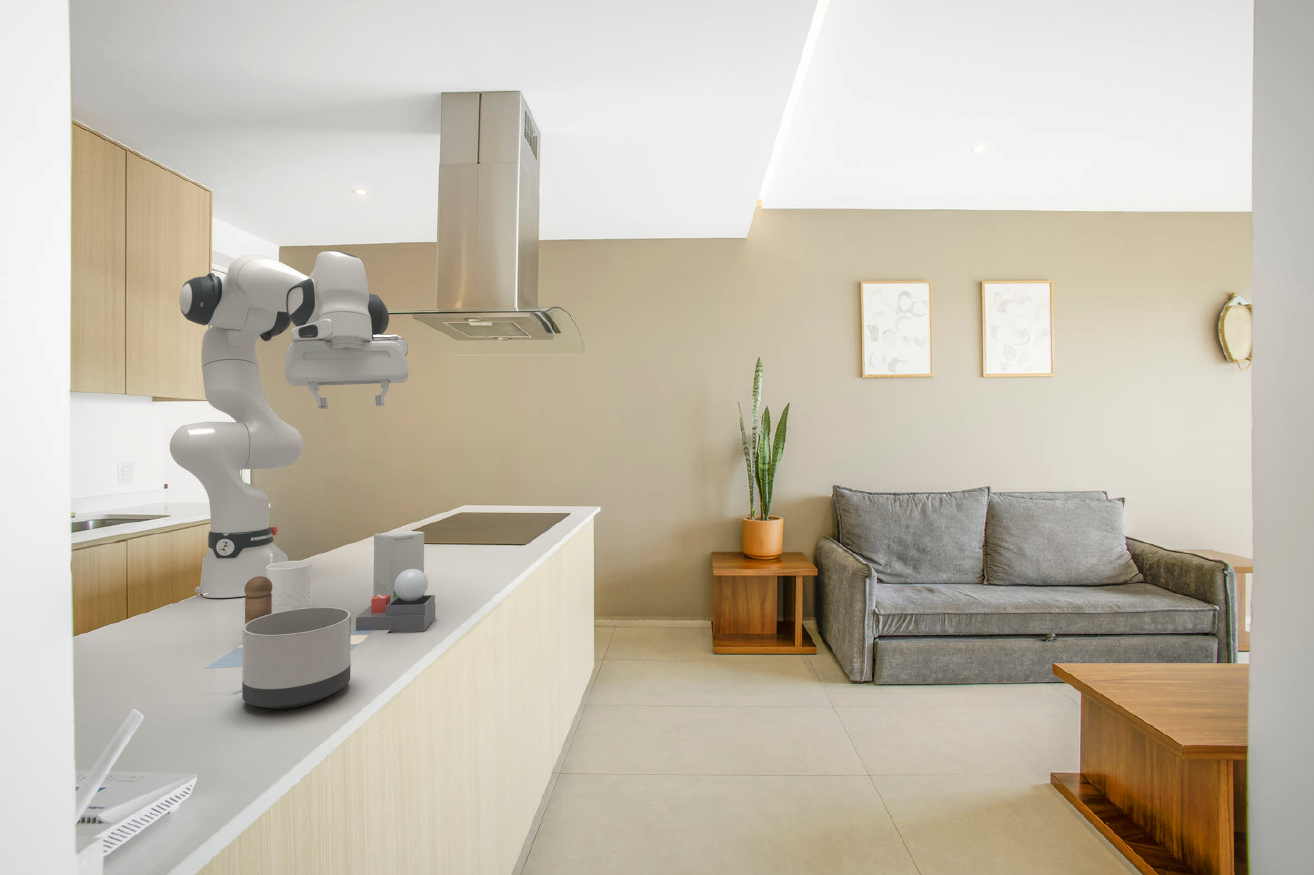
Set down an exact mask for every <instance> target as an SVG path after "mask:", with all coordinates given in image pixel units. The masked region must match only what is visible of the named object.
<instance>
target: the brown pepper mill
mask: <svg viewBox="0 0 1314 875" xmlns="http://www.w3.org/2000/svg"><path fill="white" fill-rule="evenodd" d="M272 587H273V586H272V582H271V581H270V580H269V579H268V578H266V577H264V576H257V577H254V578H252V579H250V580H249V581H248V582H247V583H246V585H245V588H244V592H245V594H246V596H244V599H245V600H244V625H245V624H247V623H248V622H250V621H252V620H254V619H257V618H259V617H262V616H265V615H269V614H272V594H271V591H272Z"/></svg>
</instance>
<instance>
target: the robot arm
mask: <svg viewBox="0 0 1314 875" xmlns="http://www.w3.org/2000/svg"><path fill="white" fill-rule="evenodd" d="M315 259H316V260H315V265H314V268H313V270H312V272H311V274H309V276H308V275H306V274H304V273H302V272H300V271H299V270H296V269H294V268H292V267H291V266H289V265H287V264H285V263H283V262H281V261H279V260H276V259H274V258H271V257H269V256H264V255H258V254H247V255H242V256H239V257H236V258H235V259H234V260H233V261H232V262H231V263H230V264H229V266H228V269H227V274H226V276H225V275H224V276H216V275H215V273H213V272H209V273H207V275H203V276H196V277H193V278H190V279H189V280H187V281H185V282H184V284H183V285H182V288H181V290H180V292H179V298H178V300H179V302H178V303H179V306H180V310H181V311H180V312H181V313H182V315H183V316H184V318H185V319H186V320H187V321H190V322H192V323H195V324H198V325H201V326H211V327H209V328H208V329H206V330H205V332H204V333H203V335H202V336H203V337H202V342H201V352H200V353H201V355H200V356H201V360H200V361H201V372H202V380H203V388H204V397H205V399H206V401H207V402H208V403H209V404H210V406H212V408H214V409H216V410H218V411H219V412H222V413H224V414H227V415H228V416H230V417H231V418H232V419H233V420H234V421H235V422H234V421H233V422H232V421H225V422H224V421H202V422H196V423H195V422H194V423H188V424H183V425H181V426H180V427H178V428H177V429H175V432H173V435H172V436H171V438H170V441H169V453H170V455H171V457H172V459H173V461H174V462H175V463H176V464H177V465H178V466H180V467H181V468H182V469H185V471H188V472H189V473H191V474H192V475H193V476H194V477H195V478H196V479H197V480H198V481H199V482H200V483H201V484H202V486H203V487H204V490H205V491H206V494H207V497H208V501H209V502H208V503H209V513H210V531H209V532H208V537H207V547H208V548H209V550H208V552H207V553H205V555H204V556H203V558H202V564H201V566H202V567H201V575H200V585H198V586H195V588H194V589H195V590H194V593H197V594H200V595H201V594H205V593H208V594H206V595H203V596H202V597H203V598H210V599H211V598H212V599H213V598H214V599H218V598H219V599H222V598H223V599H224V598H225V599H226V598H238V597H246V594H245V592H244V588H245V585H246V583H247V582H248V581H249V580H250V579H252V578H254V577H257V576H264V577H266V566H268V565H270V564H274V563H279V562H287V561H289V558H288V554H286V553H285V552H284V551H283V550H281V549H280V548H279V547H278V546H277V545H276V544H275V543H274V542H275V541H274V537H273V536H277V535H278V533H279V528H278V527H277V526H272V527H271V526H270V499H269V496H268V494H267V493H266V491H264V490H263V489H261V488H260V487H258V486H256V485H253V484H249V483H247V482H245V481H244V480H243V478H242V476H241V471H242V470H263V469H264V470H267V469H268V470H269V469H276V468H281V467H287V466H291V465H294V464H296V462H298V460H299V459H300V458H301V456H302V454H303V451H304V440H303V437H302V435H301V433H300V432H299V431H298V430H297V428H296V427H294V426H292V425H291V424H289V423H287V422H286V421H285V420H283V419H282V418H281V417H279V416H278V414H277V413H276V412H275V411H274V410H273V408H272V407H271V406H270V404H269V403H268V401H267V399H266V397H265V392H264V390H263V385H262V381H261V380H262V379H261V375H260V369H259V361H258V357H257V352H256V342H257V340H258V339H259V337H260V339H261V340H262V341H264V342H269V341H271V340H272V338H274V337H277V336H279V335H281V334H283V333H284V332H285V331H286V330H287V329H289V327H290V325H291V323H292V324H293V325H294V326H295V327H293V328H292V329H291V331H290V336H291V341H292V343H290V344H289V345H288V347H287V350H286V353H285V354H286V355H285V365H284V374H285V380H286V382H288V384H289V385H291V386H292V387H308V389H309V391H310V393H311V394H312V395H313V397H314V399H316V403H317V409H318V410H328V409H329V406H328V399H327V397H321V396H320V394H319V393H318V392H319V391H320V386H344V385H345V386H346V385H375V384H377V385H379V384H380V389H381V393H380V394H379V395H375V396H374V397H375V398H374V399H375V400H374V401H375V407H385V397H386V395H387V393H388V392H389V390H390V384H405V383H406V381H407V380H408V379H409V368H408V363H407V359H406V356H407V355H408V352H409V350H408V349H409V348H408V342H407V340H405V339H404V338H403V337H401V336H399V335H397V334H389V335H388V334H386V335H385V334H384V333H385V332H386V330H387V328H388V326H389V323H390V314H389V310H388V308H387V306H386V305H385V303H384V301H383V300H382V299H381V297H380V296H379V295H378V294H374V293H370V292H369V291H370V290H369V282H368V277H367V272H366V269H365V265H364V263H363V261H362V259H360V258H359V257H358V256H357V255H354V254H351V253H348V252H344V251H339V250H338V251H337V250H324V251H322V252H320V253H318V254H317V256H316V258H315ZM217 590H218V591H217Z"/></svg>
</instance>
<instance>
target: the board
mask: <svg viewBox="0 0 1314 875" xmlns="http://www.w3.org/2000/svg"><path fill="white" fill-rule="evenodd" d="M373 631H374V630H359V631H356V630H351V651H353V649H354V648H355V647H356V646H357V645H360V644H361V643H362V642H364V641H365V640H366V639H367V638H368V637H369V636H370V634H371V633H372V632H373ZM242 653H243V643H242V644H240V645H237V647H236V648H235V649H234V650H231V651H230V652H229V653H227V654H225V655H223V656H222V657H221V658H219V659H217V660H216V661H214V662H212V663H210V664H208V665H207V666H206V667H204V669H214V668H215V669H217V668H242Z"/></svg>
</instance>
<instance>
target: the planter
mask: <svg viewBox="0 0 1314 875" xmlns="http://www.w3.org/2000/svg"><path fill="white" fill-rule="evenodd" d="M351 617H352V614H351V612H350V610H348V609H346V608H345V609H344V608H341V607H340V608H339V607H331V606H318V607H317V606H316V607H315V606H314V607H308V608H301V609H293V610H287V611H282V612H277V613H273V614H269V615H265V616H262V617H259V618H257V619H254V620H252V621H250V622H248V623H247V624H245V623H244V625H243V626H242V644H243V653H242V667H241V668H242V669H241V670H242V673H241V674H242V678H241V681H242V682H241V684H242V687H241V692H242V693H241V694H242V695H241V698H242V700H243V701H244V702H245V703H246V704H248V705H251V706H253V707H254V706H255V707H259V708H265V709H274V710H283V709H285V710H288V709H295V708H300V707H305V706H308V705H311V703H312V704H314V703H317V702H320V701H321V700H324V699H325V698H328V697H330V696H331V695H333V694H334V693H337V692H338V691H340V690H341V689H343V688H344V687H346V685H348V683H349V682H350V680H351V666H352V665H351V661H352V660H351V652H352V650H351V631H352V629H351V626H352V625H351V624H352V623H351V622H352V620H351V619H352V618H351Z"/></svg>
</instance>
